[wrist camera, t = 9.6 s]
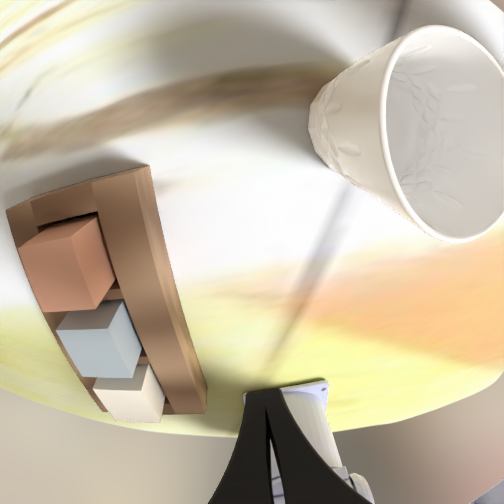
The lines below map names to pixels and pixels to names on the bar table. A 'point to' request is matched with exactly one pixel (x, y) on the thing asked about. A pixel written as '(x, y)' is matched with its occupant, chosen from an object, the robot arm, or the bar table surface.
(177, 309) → the wooden tray
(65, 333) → the light blue cube
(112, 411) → the off-white cube
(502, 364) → the bar table surface
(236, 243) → the bar table surface
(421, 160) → the white cup
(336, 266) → the bar table surface
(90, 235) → the salmon orange cube
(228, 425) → the bar table surface
